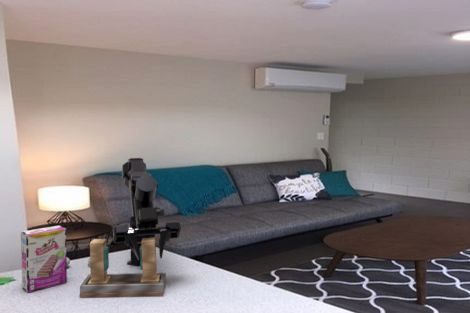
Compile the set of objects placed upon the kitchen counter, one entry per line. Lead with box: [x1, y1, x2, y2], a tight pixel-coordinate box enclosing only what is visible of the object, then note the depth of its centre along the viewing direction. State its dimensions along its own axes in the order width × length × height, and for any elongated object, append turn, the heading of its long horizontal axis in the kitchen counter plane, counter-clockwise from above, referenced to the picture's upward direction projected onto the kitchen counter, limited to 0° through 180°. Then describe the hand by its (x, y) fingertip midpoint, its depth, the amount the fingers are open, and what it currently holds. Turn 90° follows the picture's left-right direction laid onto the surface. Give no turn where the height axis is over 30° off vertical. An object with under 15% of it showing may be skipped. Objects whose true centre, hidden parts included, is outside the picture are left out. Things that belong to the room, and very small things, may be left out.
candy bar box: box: [20, 225, 68, 293], centre depth 123 cm, size 11×5×16 cm, turn 134°
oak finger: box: [140, 236, 160, 284], centre depth 122 cm, size 5×5×13 cm
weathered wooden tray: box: [79, 238, 167, 299], centre depth 121 cm, size 22×10×14 cm, turn 94°
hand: (150, 258), depth 120 cm, fingers open, 6 cm apart
